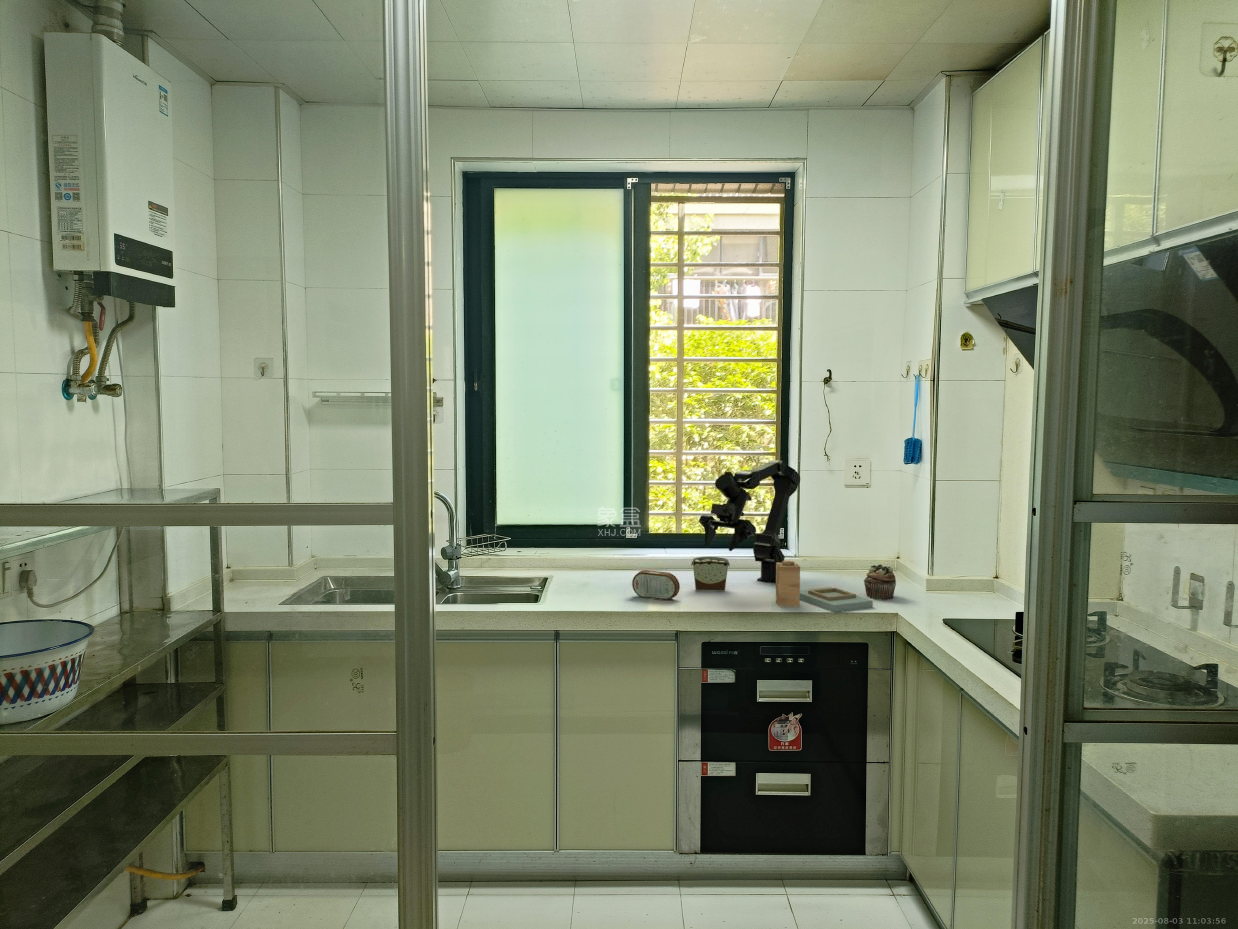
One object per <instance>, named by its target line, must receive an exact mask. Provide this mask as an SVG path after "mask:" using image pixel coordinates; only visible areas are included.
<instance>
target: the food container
mask: <svg viewBox="0 0 1238 929" xmlns="http://www.w3.org/2000/svg"><path fill="white" fill-rule="evenodd" d="M690 566H691V567H693V578H694V587H695V591H700V592H701V591H705V592H706V591H707V592H709V591H710V592H725V591H726V586H727V585H726V584H727V576H728V568H730V567H731V565H730V562H729V559H728V558H725V557H720V556H719V557H718V556H699V557H694V558H692V561H691V564H690Z"/></svg>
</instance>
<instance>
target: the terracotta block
mask: <svg viewBox="0 0 1238 929" xmlns="http://www.w3.org/2000/svg"><path fill="white" fill-rule="evenodd" d="M800 590H801V566H800V565H799V564H798V563H797V562H795V561H794V560H784V561H782V563H776V582H775V603H776V604H777V606H778V607H779V606H787V607H786V608H790V607H791V608H793V607H794V608H796V607H795V606H800V605H801V604H800V601H801V600H800Z"/></svg>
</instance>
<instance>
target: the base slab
mask: <svg viewBox="0 0 1238 929" xmlns="http://www.w3.org/2000/svg"><path fill="white" fill-rule="evenodd" d="M800 599H801V600H800V601H802V600H804V601H803V602H805V603H808V604H810V603H811V605H814V606H816V607H818V606H819V608H821V607H822V608H821V609H823V610H827V611H829V610H830V611H829V612H832V613H837V612H843V611H844V612H846V611H854V610H853V609H855V610H861V609H862V610H863V609H870V608H871V609H872V608H873V607H874V605H873V604H874V600H871V599H870V598H867V597H862V596H860V595H857V594H856V593H853V592H849V591H847V590H844V589H841V588H837V587H832V586H828V587H827V586H825V587H816V588H807V589H800ZM845 610H846V611H845Z"/></svg>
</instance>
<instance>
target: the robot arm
mask: <svg viewBox="0 0 1238 929" xmlns="http://www.w3.org/2000/svg"><path fill="white" fill-rule="evenodd" d="M769 477H770V478H771V479H772V480H773V484H772V485H773V488H774V492H775V493H774V495H773V496H774V497H773V501H772V503H771V507H770V510H769V514H768V516H767V520H766V524H765V528H764V531H763V532H761V533H757V534H756V532H757V528H756V526H755V525H754V523H752V521H751V520H749V519H742V518H741V517H744V515H745V512H743V511H744V508H745V506H746V504H747V501H749V502H751V501H752V496H751V494H750V492H749V491H746V490H755V489H756V488H757V487H759V486H760V484H761V482H762V481H763V480H766V479H768V478H769ZM800 483H801V475H800V474H799V473H798V471H797V470H795V468H793V467H791V466H789V465H788V464H786V462H785V461H783V460H781V459H780V460H779V459H771V460H769V461H768V462H766V463H764V464H760V465H759V466H757V467H755V468H752V469H743V470H741V469H740V470H737V471H735V472H734V474H733V473H732V471H727V470H725V471H724V473H723V474H722V475H719V476H718V477H717V479H716V480H715V482H714V485H715V487H716V489H717V490H718V491H719V492H720V494H722V496H723V497H724V498H725V499H727V500H726V503H722V504H720V503H719V504H718V503H711V509H710V514H711V515H708V514H702V515H700V517H699V520H698V521H697V522H698V523H699V524H700V525H701V526H702V527H703V529H704V547H705V548H708V547H709V546H710V544H711V543H712V542H713V540H714V538H715V536H716V535H717V530H718V528H724V529H725V528H727V529H733V530H734V534H733V536H732V538H731V541H730V542H729V547H728V551H729V552H732V551H733V550H735V549H736V547H738V546H739V545H740V544H742V542H743V541H746V539H748V538H749V539H750V538H751V537H754V536H755V535H756V536H755V541H754V543H753V547H752V551H753V556H754V561H755V562H760V577H758V578H757V579H756V581H759V580H760V581H761V582H768V581H770V582H771V583H776V563H782V561H785V558H786V557H785V554H784V553H783V552H782V550H781V541H780V537H779V535H780V532H781V527H782V524H783V520H784V518H785V514H786V511H787V506H788V503H789V500H790V497H792V495H793V494H794V493H795V492H796V491H797V490H798V488H799V485H800ZM713 515H716V516H715V517H716V518H717V520H716V519H715V517H714V516H713ZM718 519H719V520H718ZM743 543H744V542H743Z"/></svg>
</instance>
